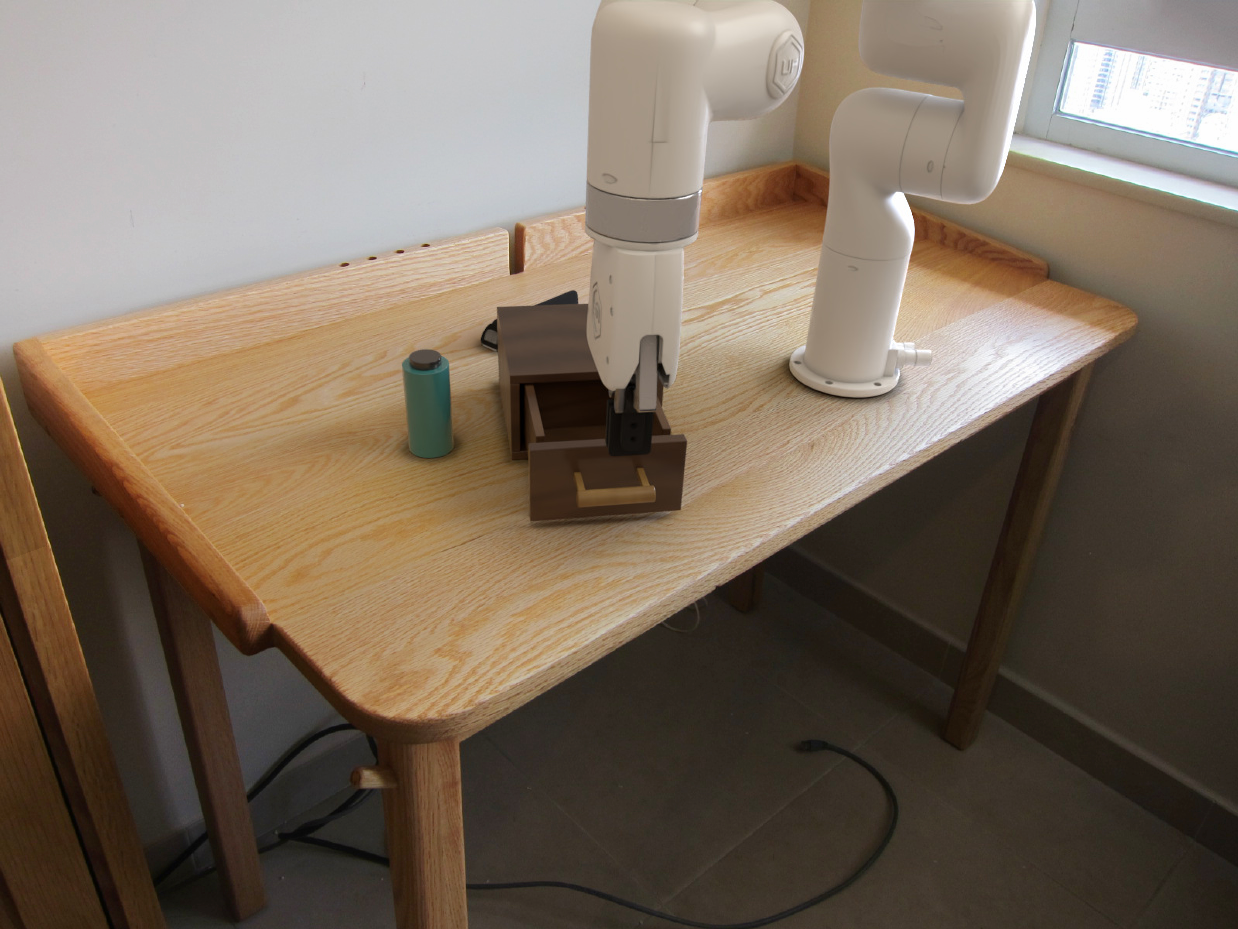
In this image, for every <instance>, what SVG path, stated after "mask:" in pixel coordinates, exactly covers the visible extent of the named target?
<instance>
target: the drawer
mask: <svg viewBox="0 0 1238 929" xmlns="http://www.w3.org/2000/svg"><path fill="white" fill-rule="evenodd" d="M614 398H615V397H613V398H610V396H609V389H608V388H607V387H606V386H605V385H604V384H603V382H602V380H581V381H561V382H540V383H522V403H523V436H524V441H525V446H526V451H527V456H528V459H527V461H528V465H527V466H528V515H529V521H530V522H541V521H543V522H544V521H556V520H570V519H581V518H596V517H610V516H624V515H637V514H650V513H651V514H652V513H663V512H664V513H665V512H678V511H679V512H680V511H681V510H682V502H683V492H684V481H685V480H684V479H685V468H686V460H687V458H686V457H687V448H688V447H687V446H688V439H687V437H686V435H685V434H684V433H681V434H680V433H679V434H672V427H671V425H670V423H669V421H668V418H667V416H666V414H665V411H664V409H663V406H662V407H661V404H660V402H659V400H658V398H657V405H656V411H655V412H654V417H653V429H652V442H651V451H650V453H649V454H647V455H632V456H610V455H609V452H608V448H607V446H606V443H605V436H606V415H607V399H614Z"/></svg>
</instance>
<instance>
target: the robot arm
mask: <svg viewBox="0 0 1238 929" xmlns="http://www.w3.org/2000/svg"><path fill="white" fill-rule="evenodd" d="M860 10H861V11H860V18H859V25H858V26H859V28H858V54H859V58H860V61H861V62H862V64H863V66H864V67H865V68H867V69H868V70H869V71H871V72H874V73H875V74H878V75H882V76H885V77H891V78H894V79H895V78H896V79H900V80H907V81H912V82H917V83H918V82H919V83H924V84H931V85H935V86H942V87H948V88H949V87H950V88H955V89H957V90H959V91H960V92H961V94H962V99H957V98H951V97H946V96H938V95H933V94H930V93H925V92H918V91H912V90H905V89H899V88H893V87H882V86H881V87H866V88H862V89H858V90H855V91H854V92H852V93H850V94H848V95H847V96H846V97H845V98H844V99H843V100H842V101H841V102H840V104H838V106H837V108H836V110H835V112H834V114H833V117H832V121H831V124H830V130H829V141H828V143H829V144H828V151H829V152H828V153H829V156H828V158H829V184H828V197H827V198H828V200H827V210H826V217H825V223H824V228H823V235H822V240H821V246H820V247H821V248H820V254H819V260H818V266H817V272H816V278H815V285H814V290H813V291H814V292H813V296H812V304H811V310H810V316H809V323H808V329H807V335H806V342H805V344H804V345H801V346H800V347H797V348H796V349H795V350H794V351H793V352H792V353H791V355H790V357H789V364H788V367H789V370H790V373H791V374H792V375H793V376H794V378H796V380H798V381H799V382H800V383H802V384H803V385H805V386H806V387H808V388H810V389H813V390H815V391H819V392H822V393H824V394H829V395H832V396H838V397H844V398H870V397H876V396H881V395H884V394H886V393H888V392H890V391H892V390H893V389H895V387H896V386H897V385H898V382H899V379H900V376H901V375H900V369H903V367H904V366H913V367H919V368H921V367H923V368H929V367H931V366H932V362H933V352H932V350H930V349H916V343H915V342H908V341H907V342H905V341H904V342H896V341H895V339H894V335H895V331H896V327H897V326H896V325H897V321H898V315H899V311H900V306H901V302H902V299H903V298H902V297H903V292H904V288H905V283H906V278H907V273H908V268H909V264H910V261H911V260H910V259H911V254H912V251H913V247H914V242H915V223H914V222H915V221H914V218H913V215H912V211H911V209H910V206H909V203H908V201H907V198H906V197H905V194H907V195H913V196H917V197H921V198H922V197H923V198H927V199H931V200H936V201H942V202H946V203H951V204H959V205H975V204H979V203H981V202H983V201H985V200H986V199H988V197H989V196H990V195H991V194H992V193H993V192H994V191H995V190H996V187H997V185H998V183H999V181H1000V179H1001V176H1002V175H1003V171H1004V167H1005V164H1006V160H1007V158H1008V154H1009V149H1010V145H1011V141H1012V137H1013V132H1014V127H1015V123H1016V119H1017V114H1018V112H1019V106H1020V101H1021V97H1022V93H1023V88H1024V84H1025V78H1026V76H1027V71H1028V66H1029V62H1030V59H1031V58H1030V57H1031V53H1032V48H1033V43H1034V38H1035V30H1036V17H1037V16H1036V15H1037V14H1036V5H1035V1H1034V0H862V2H861V9H860ZM589 53H590V58H589V84H588V86H589V90H588V116H587V117H588V118H587V120H588V122H587V147H586V148H587V152H586V180H585V181H586V183H585V184H586V185H585V186H586V187H585V213H584V214H585V216H584V219H585V220H584V232H585V234H586V235H587V236H588V237H589V238H590V239H593V246H592V254H591V263H590V264H591V266H590V278H589V289H588V290H589V291H588V303H587V304H588V315H587V340H588V344H589V348H590V351H591V353H592V356H593V359H594V362H595V365H596V367H597V370H598V373H599V375H600V378H601V380H602V382H603V384H604V385H605V386H606V387H607V388H608V389H609V396H610V398H613V397H615V398H614V399H607V415H606V436H605V443H606V446H607V448H608V452H609V455H610V456H632V455H647V454H649V453H650V451H651V442H652V429H653V417H654V412H655V411H656V405H657V382H658V376H659V378H660V381H661V383H662V384H663V386H664V389H666V390H667V389H669V388H671V387H672V386H673V385H674V383H675V382H676V380H677V379H676V378H677V373H678V367H679V359H680V348H681V336H682V321H683V305H684V304H683V299H684V281H685V275H684V273H685V272H684V271H685V270H684V269H685V268H684V267H685V247H687V246H690V245H692V244H694V243H695V242H696V241H697V240H698V238H699V228H700V220H701V211H702V210H701V209H702V200H703V188H704V178H705V168H706V157H707V156H706V155H707V146H708V135H709V133H708V132H709V125H710V124H711V123H713V122H726V121H728V122H730V121H731V122H733V121H735V122H736V121H751V120H755V119H758V118H761V117H763V116H767V115H768V114H770V113H772V112H773V111H775V110H776V109H778V108H779V107H780V106H781V105H782V104H783V103H784V102H785V101H786V100H787V99H788V97H789V96H790V95H791V93H792V92H793V90H794V88H795V87H796V85H797V82H798V81H799V78H800V76H801V72H802V69H803V65H804V59H805V43H804V37H803V33H802V29H801V26H800V24H799V22H798V20H797V18H796V17H795V15H794V14H792V12H791V11H790V10H789V9H788V8H786V6H784V5H782V3H779V2H778V1H775V0H600V3H599V5H598V8H597V11H596V14H595V18H594V20H593V23H592V27H591V35H590V52H589Z"/></svg>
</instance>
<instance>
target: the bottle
mask: <svg viewBox="0 0 1238 929" xmlns="http://www.w3.org/2000/svg"><path fill="white" fill-rule="evenodd" d="M401 371H402V372H401V374H402V386H403V394H404V395H403V396H404V408H405V417H406V430H407V440H408V450H409V451H410V453H411V454H412V455H414V456H416V457H420V458H423V459H436V458H441V457H443V456H447V455H448V454H449V453H451V452H452V451H453V449H454V448H455V440H454V423H453V422H454V421H453V405H452V386H451V374H450V372H451V371H450V361H449V359H447V358H446V357H445V356H443V355H442V354H441V353H440V352H439V351H438V350H435V349H430V348H424V349H417V350H413V351H412V352H411V353H409V355H408V357H406V358H405V359H404V360H403V361H402V363H401Z"/></svg>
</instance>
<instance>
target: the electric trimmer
mask: <svg viewBox="0 0 1238 929" xmlns="http://www.w3.org/2000/svg"><path fill="white" fill-rule="evenodd" d="M564 304H579V294H578V291H577V290H575V289H572V290H569V291H566V292H564V293H561V294H559V295H557V296H554V297H551V298H549V299H546V300H543V301H541V302H539V303H537V304H533V305H532V306H535V305H564ZM480 343H481V344H482V345H481V346H482V347H485V348H487V349H490V350H492V351H494V352H498V334H497V318H495V319H494V320H492V322H491V323H489V324H488V325H486V327H485V328H484V330H483V331H482V333H481V336H480Z"/></svg>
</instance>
